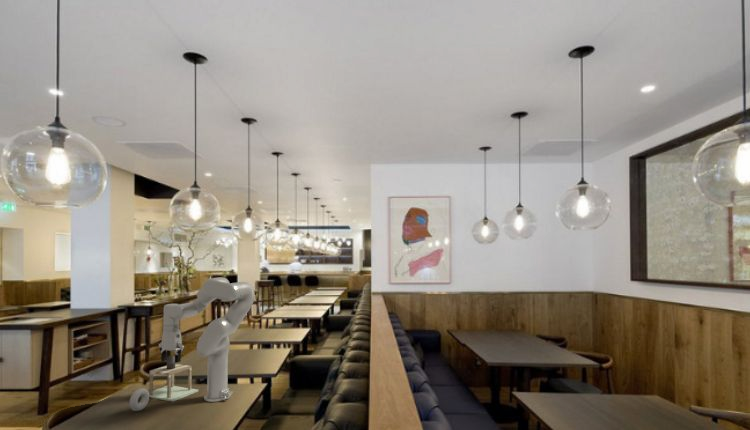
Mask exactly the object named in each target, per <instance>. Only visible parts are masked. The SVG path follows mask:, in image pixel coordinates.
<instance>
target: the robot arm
mask: <svg viewBox="0 0 750 430" xmlns="http://www.w3.org/2000/svg"><path fill="white" fill-rule="evenodd" d="M196 297H197V298H195V299H194V300H193V301H191V302H185V303H180V304H179V303H167V304H164V306H163V327H162V329H163V331H162V334H161V335H162V336H161V342H160V343H159V344H158V347H159V351H160V354H161V355H160V357H161V358H160V360H161V362H164V361H167V357H168V351H170V352H174V356H175V364H178V363H180V362H182V361H181V360H182V353H183V351H184V348H185V346H184V345H183V342H182V340H183V339H182V333H181V330H180V327H181V326H180V320H183V319H186V318H192V317H195V316H197V315H198V314H200V313H202V312H203V311H205V310H206V309H207V308H208V306H209V305H210V304H211V303H212V302H214V301H215V300H220V301H221V300H222V301H225V302H233V301H234V303H232V305H231V306H230V307H229V309H228V311H226V314H224V315H223V316H221V317H219V318H215V319H213V320H212V321H211V322H209V324H208V325H207V326H206V328H205V329H204V331H203V332H202V334H201V336H200V337H199V339H198V341H197V343H196V352H197V354H198V355H199V356H200V357H204V358H206V357H208V358H207V367H206V368H207V373H206V374H207V375H206V377H207V382H206V383H207V384H206V386H207V387H206V388H207V389H206V392H207V393H206V394H205V395H204V396H203V400H204V401H205V402H209V403H210V402H211V403H212V402H213V403H215V402H221V401H226V400H228V399H229V398H231V396H232V395H233V394H234V393H233V391H232V390H230V387H228V382H229V381H228V377H229V376H228V372H229V371H228V370H229V369H228V367H229V366H228V365H229V364H228V363H229V359H228V358H229V350H230V344H231V341H230V338H229V336H231V335H233V334H235V333H236V331H237V330H238V328H239V327H240V325H241V324H242V323H243V321H244V319H245V317H246V315H247V314H248V312H249V311H250V309H251V308H252V306H253V304H254V302H255V297H256V295H255V289H254V287H253V285H252V284H251V283H249V282H247V281H239V282H238V281H237V282H232V283H230V281H229V280H228V278H226V277H223V276H221V277H220V276H219V277H211V278H208V279H206V280H205V281H204V282H203V283H202V286H201V289H199V290H198V291H197V293H196Z"/></svg>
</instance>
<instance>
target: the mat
mask: <svg viewBox="0 0 750 430" xmlns="http://www.w3.org/2000/svg"><path fill="white" fill-rule="evenodd" d="M198 392H199V389H196V388H192V389H191V390H188V387H183V386H177V385H174V387H171V398H167V385H165V386H163V387H159V388H157V389H153V395H150V397H151V399H154V400H162V401H168V402H172V403H173V402H176V401H177V400H180V399H182V398H185V397H188V396H190V395H192V394H193V395H194V394H195V393H198Z"/></svg>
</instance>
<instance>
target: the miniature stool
mask: <svg viewBox="0 0 750 430" xmlns="http://www.w3.org/2000/svg"><path fill="white" fill-rule="evenodd" d="M192 367H193V366H192V365H185V364H180V363H179V364H178V363H175V355H167V360H166V365H164V366H161V367H158V368H154V369H151V370H149V380H148V381H149V382H148V383H149V384H148V386H149V387H148V388H149V390H148V392H149V395H153V390H154V374H157V375H162V376H167V377H166V378H167V379H166V384H167V385H166V386H167V398H171V387H174V386H175V374H177V373H180V372H184V371H186V370H188V371H187V388H188V390H191V389H193V388H192V387H193V386H192V384H193V383H192V382H193V380H192V377H193V375H192V373H193V372H192V371H193V370H192Z"/></svg>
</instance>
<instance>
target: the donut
mask: <svg viewBox="0 0 750 430" xmlns="http://www.w3.org/2000/svg"><path fill="white" fill-rule="evenodd" d="M140 397H141V399H140V401H139V398H140ZM149 397H150V395H149V390H148V389H147V388H146V387H145V388H144V387H140V388H138V389H136V390H134V392H132V394H131V396H130V398H129V407H130V409H131V410H132V411H134V412H140V411H142V410H143V409H145V408H146V406H147V405H148V404H149V400H150V398H149Z"/></svg>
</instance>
